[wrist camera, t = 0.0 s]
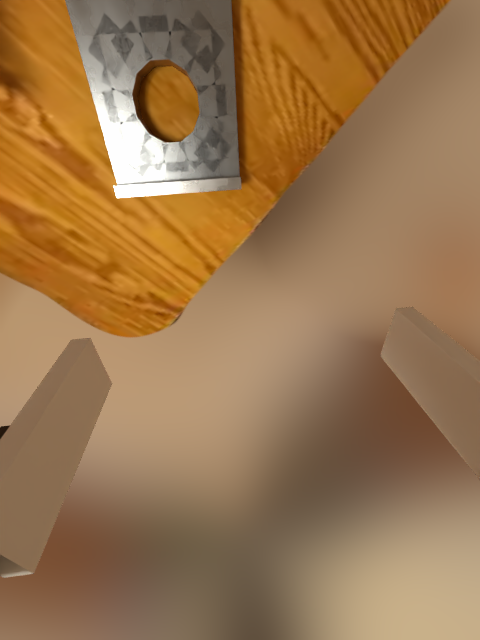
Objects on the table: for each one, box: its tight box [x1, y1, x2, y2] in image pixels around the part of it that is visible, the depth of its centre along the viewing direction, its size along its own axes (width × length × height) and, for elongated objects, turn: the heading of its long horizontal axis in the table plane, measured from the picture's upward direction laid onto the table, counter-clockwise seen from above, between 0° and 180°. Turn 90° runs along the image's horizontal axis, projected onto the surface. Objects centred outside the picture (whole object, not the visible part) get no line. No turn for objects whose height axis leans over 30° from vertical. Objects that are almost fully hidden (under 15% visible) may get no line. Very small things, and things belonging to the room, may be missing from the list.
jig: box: [65, 0, 241, 198], centre depth 27 cm, size 16×14×4 cm
